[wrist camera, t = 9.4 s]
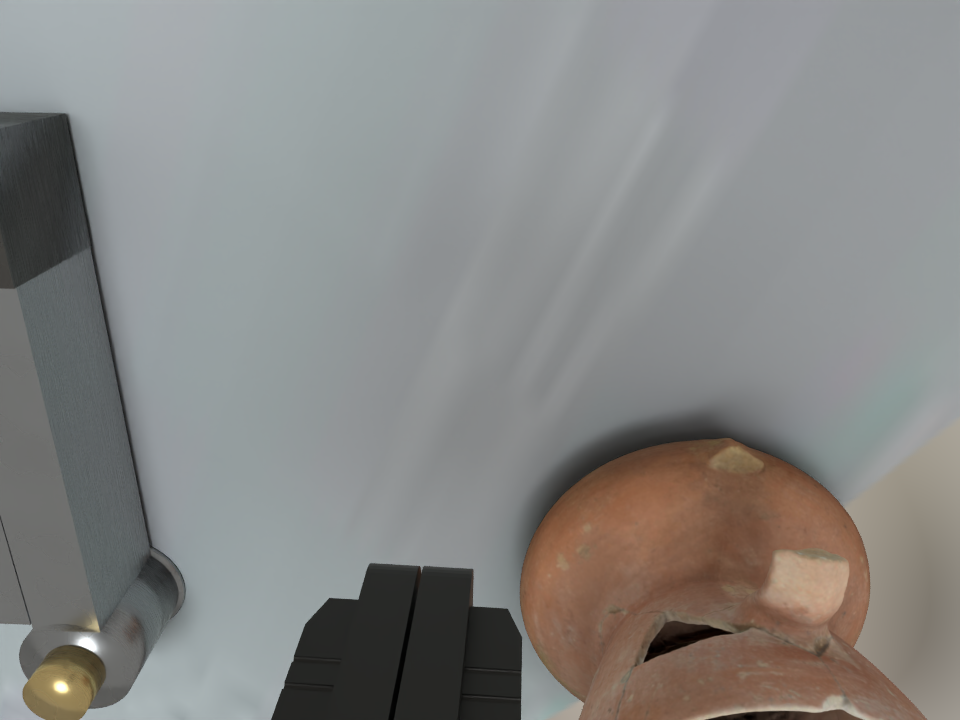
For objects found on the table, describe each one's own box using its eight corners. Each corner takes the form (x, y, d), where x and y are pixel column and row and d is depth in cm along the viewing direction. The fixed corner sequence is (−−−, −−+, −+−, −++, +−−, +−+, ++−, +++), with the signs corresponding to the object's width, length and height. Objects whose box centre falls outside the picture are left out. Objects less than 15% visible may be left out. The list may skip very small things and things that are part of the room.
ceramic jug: (559, 359, 32) (585, 602, 19) (900, 416, 32) (1149, 691, 20) (488, 671, 40) (473, 993, 27) (764, 714, 40) (879, 1053, 27)
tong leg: (186, 626, 38) (140, 712, 34) (90, 622, 38) (32, 708, 34) (91, 114, 28) (8, 134, 24) (-37, 111, 28) (-145, 131, 24)
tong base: (191, 626, 39) (129, 747, 32) (51, 621, 39) (-38, 741, 32) (101, 113, 29) (-16, 142, 22) (-88, 109, 29) (-258, 137, 22)
